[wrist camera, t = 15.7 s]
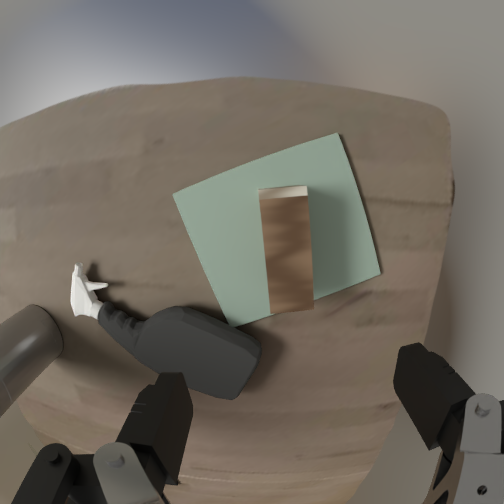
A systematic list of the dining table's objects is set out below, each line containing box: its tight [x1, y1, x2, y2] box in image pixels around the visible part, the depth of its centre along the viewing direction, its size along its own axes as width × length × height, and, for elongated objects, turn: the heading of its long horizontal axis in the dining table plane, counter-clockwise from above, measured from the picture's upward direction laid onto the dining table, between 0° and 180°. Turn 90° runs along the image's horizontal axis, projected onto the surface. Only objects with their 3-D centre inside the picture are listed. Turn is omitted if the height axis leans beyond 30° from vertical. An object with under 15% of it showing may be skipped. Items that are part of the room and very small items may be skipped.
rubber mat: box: [172, 133, 380, 327], centre depth 29 cm, size 18×16×1 cm
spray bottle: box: [71, 262, 262, 400], centre depth 31 cm, size 3×11×24 cm
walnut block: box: [258, 185, 314, 314], centre depth 26 cm, size 4×5×11 cm
